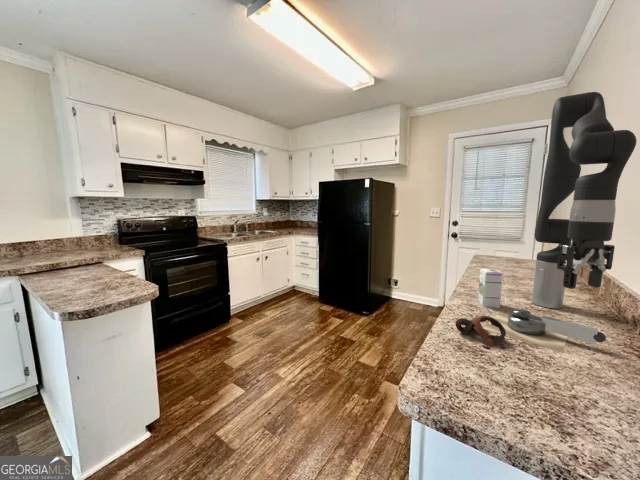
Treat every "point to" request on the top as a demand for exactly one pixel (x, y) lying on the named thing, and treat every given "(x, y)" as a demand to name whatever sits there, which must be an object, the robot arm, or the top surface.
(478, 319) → the brown curved loop piece
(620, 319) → the top surface
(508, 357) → the top surface
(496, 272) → the syrup box
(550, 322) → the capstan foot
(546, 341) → the beige flat square slab
